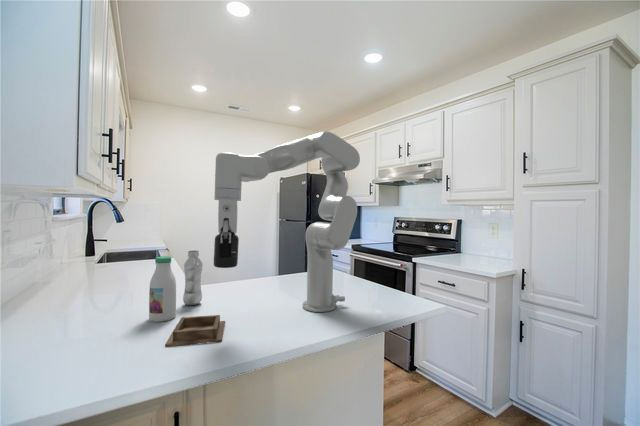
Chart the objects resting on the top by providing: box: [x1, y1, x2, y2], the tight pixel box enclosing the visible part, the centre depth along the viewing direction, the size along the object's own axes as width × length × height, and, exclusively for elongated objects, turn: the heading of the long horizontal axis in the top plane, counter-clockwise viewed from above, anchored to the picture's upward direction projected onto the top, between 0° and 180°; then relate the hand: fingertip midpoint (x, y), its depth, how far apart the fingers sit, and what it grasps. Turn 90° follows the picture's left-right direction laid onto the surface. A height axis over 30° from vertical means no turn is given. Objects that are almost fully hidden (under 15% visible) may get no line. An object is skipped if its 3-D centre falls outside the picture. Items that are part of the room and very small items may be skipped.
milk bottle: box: [148, 255, 177, 323], centre depth 97 cm, size 8×8×20 cm
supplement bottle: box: [213, 229, 240, 269], centre depth 88 cm, size 7×7×12 cm
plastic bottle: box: [182, 250, 203, 306], centre depth 111 cm, size 6×7×20 cm
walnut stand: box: [164, 314, 226, 348], centre depth 85 cm, size 14×14×3 cm
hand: (226, 255), depth 88 cm, fingers closed on supplement bottle, 6 cm apart
